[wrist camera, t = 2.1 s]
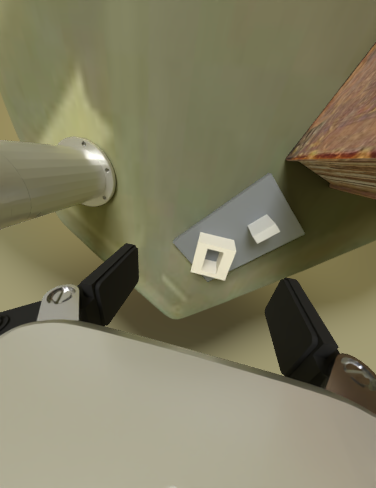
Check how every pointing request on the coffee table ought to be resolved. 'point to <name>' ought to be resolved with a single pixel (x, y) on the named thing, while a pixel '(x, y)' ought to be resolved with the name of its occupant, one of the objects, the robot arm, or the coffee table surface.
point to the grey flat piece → (246, 224)
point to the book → (345, 135)
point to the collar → (223, 260)
